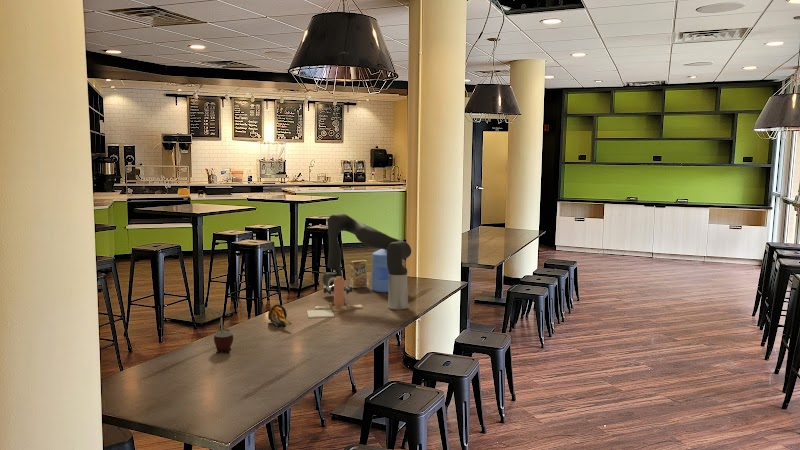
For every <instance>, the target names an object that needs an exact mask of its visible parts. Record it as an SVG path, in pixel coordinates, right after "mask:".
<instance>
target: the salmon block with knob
mask: <svg viewBox="0 0 800 450" xmlns="http://www.w3.org/2000/svg"><path fill="white" fill-rule="evenodd" d="M344 285H345V279H344V277H342V278H341V276H337V277H336V278H334V294H333V303H334V306H344V302H345V293H344Z"/></svg>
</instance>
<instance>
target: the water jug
mask: <svg viewBox="0 0 800 450" xmlns="http://www.w3.org/2000/svg"><path fill="white" fill-rule="evenodd" d="M371 262H372V264H371V265H372V267H371V268H372V270H371V276H372V279H371V280H372V281H371V290H372V291H374V292H378V293H388V291H389V270H388V267H387V250H385V249H380V248H379V249H378V250H376V251H374V252H372V255H371Z"/></svg>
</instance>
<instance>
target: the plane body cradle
mask: <svg viewBox="0 0 800 450" xmlns="http://www.w3.org/2000/svg"><path fill="white" fill-rule="evenodd" d="M361 309H364V307H363V304H348V302H347V301H344V306H334V302H328V305H317V306H316V305H315V307H314V310H332V312H336V311H337V312H340V311H341V312H342V311H349V310H361Z"/></svg>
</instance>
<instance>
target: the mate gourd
mask: <svg viewBox="0 0 800 450" xmlns="http://www.w3.org/2000/svg"><path fill="white" fill-rule="evenodd" d="M233 341H234V334H233V332H232V331H231V330H230V329H228V328H226V329H225V328H223V317H222V316H220V329H218V330H217V331H216V332H215V333H214V336H213V343H214V344H215V349H216V354H221V353H225V354H230V351H231V350H232V348H231V347H232V344H233Z"/></svg>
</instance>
